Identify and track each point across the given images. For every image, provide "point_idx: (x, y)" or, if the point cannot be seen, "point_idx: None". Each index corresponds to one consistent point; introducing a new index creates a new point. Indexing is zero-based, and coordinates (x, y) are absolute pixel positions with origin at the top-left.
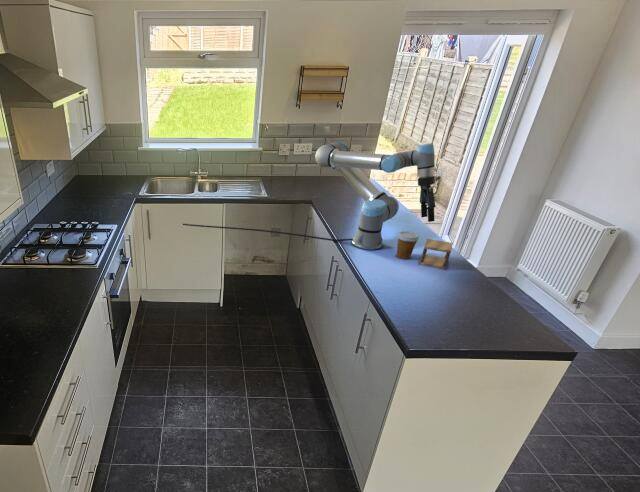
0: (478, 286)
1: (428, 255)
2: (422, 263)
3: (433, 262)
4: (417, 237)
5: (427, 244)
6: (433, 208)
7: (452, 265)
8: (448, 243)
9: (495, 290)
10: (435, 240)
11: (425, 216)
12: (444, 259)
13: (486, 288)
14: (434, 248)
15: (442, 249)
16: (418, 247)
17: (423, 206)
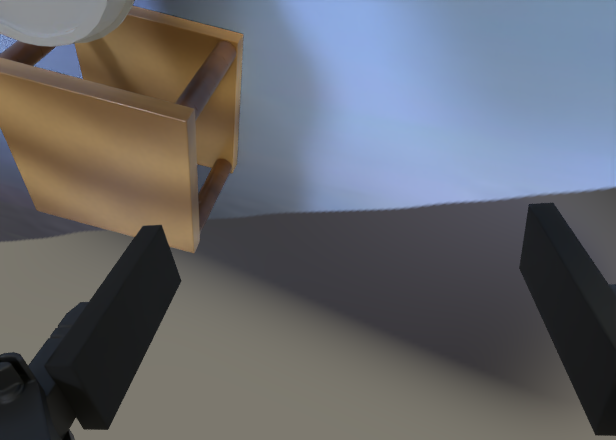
0: (20, 203)
1: (228, 78)
2: None
3: (119, 86)
4: (6, 30)
5: (33, 97)
6: (82, 417)
7: None
8: (165, 230)
9: (32, 238)
10: (175, 172)
11: (523, 251)
12: (208, 154)
13: (25, 220)
14: (5, 129)
15: (21, 173)
16: (437, 34)
17: (592, 358)
